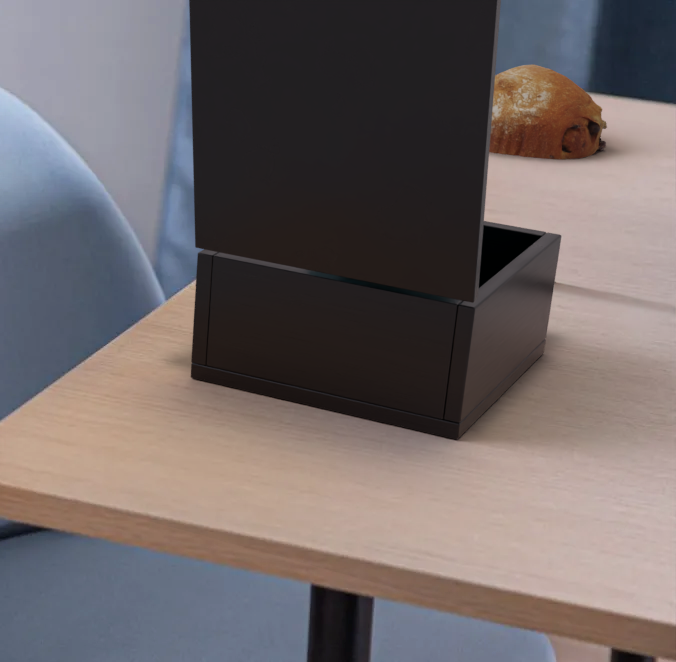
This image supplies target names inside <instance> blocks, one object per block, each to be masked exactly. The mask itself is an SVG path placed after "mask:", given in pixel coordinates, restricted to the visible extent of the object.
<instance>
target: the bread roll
mask: <svg viewBox="0 0 676 662" xmlns="http://www.w3.org/2000/svg"><path fill="white" fill-rule="evenodd" d="M602 112H603V108H602V107H601V106H600V105H599V104H597V103H596V102H595V101H594V100H593V98H592V96H591V95H590V94H589V93H588V92H586V90H584V89H583V88H582V87H580V86H579V85H578V84H577V83H575V81H573V80H572V79H570V78H569V77H567V76H566V75H563V74H562V73H560V72H557V71H555V70H553V69H551V68H547V67H544V66H540V65H537V64H523V65H519V66H515V67H512V68H509V69H507V70H504V71H501V72H500V73H496V74H495V84H494V97H493V110H492V122H491V135H490V148H489V153H491V154H499V155H506V156H507V155H508V156H518V157H523V158H531V159H533V158H535V159H543V160H545V159H546V160H571V159H573V160H575V159H583V158H588V157H591V156H593V155H594V154H596V152H597V151H603V150H604V149H605V148H606V147H607V142H606V141H605V140H602V138H601V137H602V133H603V130H606V129H607V128H608V126H607V124H608V123H607V122H606V121H605V120H604V119H603V118H602Z"/></svg>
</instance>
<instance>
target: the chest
mask: <svg viewBox="0 0 676 662" xmlns="http://www.w3.org/2000/svg"><path fill="white" fill-rule="evenodd" d="M561 242H562V235H561V234H559V233H553V232H546V231H544V230H537V229H532V228H526V227H521V226H515V225H509V224H504V223H498V222H494V221H488V220H484V225H483V238H482V251H481V264H480V277H479V290H478V298H477V299H476V300H475V301H474V302H473V303H472V302H467V301H462V300H457V299H452V298H447V297H442V296H437V295H432V294H427V293H422V292H417V291H412V290H407V289H402V288H397V287H392V286H386V285H381V284H376V283H371V282H366V281H361V280H356V279H351V278H346V277H341V276H336V275H331V274H326V273H321V272H316V271H311V270H306V269H301V268H296V267H291V266H286V265H281V264H276V263H271V262H266V261H261V260H256V259H251V258H245V257H240V256H235V255H230V254H225V253H220V252H215V251H210V250H205V249H201V250H200V251H199V252H197V258H196V275H195V276H196V277H195V290H194V291H195V294H194V309H193V327H192V343H191V344H192V345H191V358H190V359H191V361H190V362H191V364H190V378H191V379H195V380H199V381H203V382H208V383H212V384H216V385H220V386H225V387H229V388H233V389H237V390H242V391H247V392H250V393H254V394H259V395H264V396H267V397H272V398H277V399H280V400H285V401H288V402H289V401H290V402H294V403H298V404H302V405H307V406H311V407H315V408H319V409H324V410H328V411H332V412H336V413H340V414H345V415H350V416H354V417H359V418H362V419H367V420H371V421H376V422H379V423H384V424H388V425H393V426H395V427H396V426H397V427H400V428H405V429H409V430H414V431H417V432H423V433H427V434H431V435H436V436H440V437H444V438H449V439H453V440H459V439H460V437H462V435H464V434H465V432H467V431H468V429H469V428H470V427H471V426H473V425H474V423H475V422H476V421H478V420H479V418H480V417H482V416H483V414H484V413H485V412H486V411H487V410H488V409H489V408H490V407H492V406H493V404H494V403H495V402H496V401H498V399H499V398H500V397H501V396H502V395H503V394H504V393H506V391H508V389H509V388H510V387H511V386H512V385H513V384H514V383H515V382H516V381H517V380H518V379H519V378H520V377H521V376H523V374H525V372H526V371H527V370H528V369H529V368H530V367H531V366H532V365H533V364H534V363H535V362H536V361H537V360H538V359H539V358H540V357H541V356H542V355H543V354H544V353H545V347H546V341H547V340H546V338H547V335H548V327H549V321H550V314H551V308H552V301H553V295H554V289H555V282H556V275H557V268H558V261H559V256H560V250H561V249H560V248H561Z"/></svg>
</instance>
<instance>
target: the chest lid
mask: <svg viewBox="0 0 676 662" xmlns="http://www.w3.org/2000/svg"><path fill="white" fill-rule="evenodd" d="M501 4H502V0H188V5H189V6H188V9H189V10H188V11H189V42H190V43H189V50H190V85H191V87H190V89H191V93H190V94H191V126H192V127H191V131H192V166H193V167H192V169H193V170H192V171H193V173H192V174H193V208H194V209H193V213H194V214H193V215H194V247H195V249H201V250H204V249H205V250H210V251H215V252H220V253H225V254H230V255H235V256H240V257H245V258H251V259H256V260H261V261H266V262H271V263H276V264H281V265H286V266H291V267H296V268H301V269H306V270H311V271H316V272H321V273H326V274H331V275H336V276H341V277H346V278H351V279H356V280H361V281H366V282H371V283H376V284H381V285H386V286H392V287H397V288H402V289H407V290H412V291H417V292H422V293H427V294H432V295H437V296H442V297H447V298H452V299H457V300H462V301H467V302H472V303H473V302H474V301H475V300H476V299H477V298H478V290H479V277H480V264H481V251H482V238H483V225H484V221H485V211H486V199H487V185H488V175H489V174H488V173H489V160H490V152H489V148H490V135H491V122H492V110H493V97H494V84H495V75H496V71H497V56H498V44H499V32H500V31H499V29H500V20H501V19H500V17H501V7H502V6H501Z"/></svg>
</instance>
